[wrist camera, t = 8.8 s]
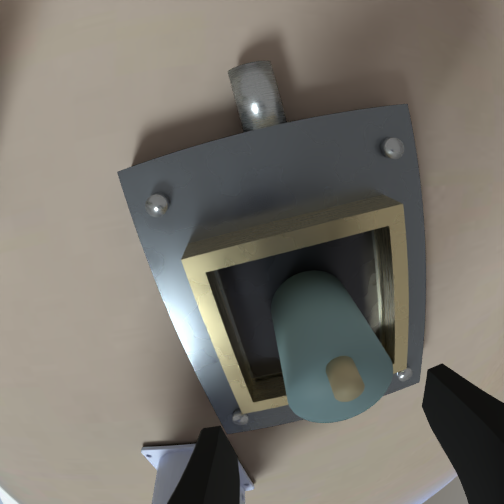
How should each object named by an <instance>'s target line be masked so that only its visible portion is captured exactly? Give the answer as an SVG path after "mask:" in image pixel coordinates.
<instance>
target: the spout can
mask: <svg viewBox="0 0 504 504" xmlns="http://www.w3.org/2000/svg"><path fill="white" fill-rule="evenodd" d="M271 315H272V320H273V325H274V331H275V336H276V341H277V346H278V352H279V357H280V362H281V368H282V373H283V378H284V384H285V389H286V394H287V400H288V404H289V406H290V408H291V409H292V411H293V412H294V413H295V414H296V415H298V416H299V417H301V418H303V419H305V420H308V421H312V422H317V423H331V422H338V421H342V420H346V419H349V418H352V417H354V416H356V415H359V414H360V413H362V412H364V411H366V410H367V409H369V408H370V407H371V406H373V405H374V404H375V403H376V402H377V401H378V400H379V399H380V398H381V397H382V396H383V395H384V394H385V392H386V391H387V389H388V387H389V385H390V383H391V381H392V377H393V365H392V361H391V359H390V357H389V356H388V354H387V353H386V351H385V349H384V348H383V346H382V344H381V343H380V341H379V340H378V338H377V336H376V335H375V333H374V332H373V330H372V329H371V327H370V325H369V324H368V322H367V321H366V319H365V318H364V316H363V314H362V313H361V311H360V310H359V308H358V307H357V305H356V304H355V302H354V301H353V299H352V298H351V296H350V295H349V293H348V292H347V290H346V289H345V287H344V286H343V284H342V283H341V282H340V280H339V279H337V278H336V277H335V276H333V275H332V274H329V273H327V272H324V271H315V270H313V271H305V272H301V273H298V274H296V275H294V276H292V277H290V278H289V279H287V280H286V281H285V282H284V283H283V284H282V285H281V286H280V287H279V288H278V289H277V291H276V292H275V294H274V297H273V299H272V303H271Z"/></svg>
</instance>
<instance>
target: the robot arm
mask: <svg viewBox="0 0 504 504" xmlns="http://www.w3.org/2000/svg"><path fill="white" fill-rule="evenodd" d="M422 408H423V410H424V412H425V415H426V417H427V420H428V422H429V424H430V427H431V429H432V431H433V432H434V434H435V436H436V437H437V439H438V441H439V443H440V444H441V446H442V448H443V450H444V451H445V453H446V455H447V456H448V458H449V460H450V462H451V463H452V465H453V467H454V469H455V470H456V472H457V475H458V477H459V479H460V481H461V484H462V486H463V489H464V491H465V494H466V497H467V500H468V503H469V504H504V403H503V402H501V401H499V400H498V399H496V398H494V397H492V396H491V395H489V394H488V393H486V392H484V391H483V390H481V389H480V388H478V387H477V386H475V385H473V384H472V383H470V382H469V381H467V380H466V379H465V378H463V377H462V376H460V375H459V374H457V373H456V372H454V371H453V370H451V369H450V368H448V367H447V366H445V365H444V364H440V365H437V366H435V367H433V368H430V369H428V371H427V378H426V385H425V391H424V397H423V403H422ZM141 453H142V454H143V455H144V456H145V457H146V458H147V460H148V461H149V462H150V463H151V464H152V465H153V466H154V467H155V468H156V469H157V475H156V481H155V487H154V493H153V499H152V504H245V491H248V490H253V489H254V485H253V483H252V481H251V480H250V478H249V477H248V475H247V473H246V472H245V470H244V468H243V467H242V465H241V464H240V462H239V460H238V457H237V455H236V453H235V451H234V450H233V448H232V446H231V444H230V442H229V441H228V439H227V437H226V435H225V433H224V432H223V430H222V428H221V426H217V427H209V428H203V429H202V430H201V432H200V435H199V438H198V440H197V443H195V444H185V445H172V446H154V447H142V449H141Z"/></svg>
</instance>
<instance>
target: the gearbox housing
mask: <svg viewBox="0 0 504 504" xmlns="http://www.w3.org/2000/svg"><path fill="white" fill-rule="evenodd" d="M228 75H229V79H230V83H231V86H232V90H233V94H234V97H235V101H236V105H237V108H238V112H239V116H240V120H241V123H242V127H243V131H244V133H241V134H237V135H233V136H229V137H225V138H222V139H218V140H214V141H211V142H207V143H204V144H200V145H197V146H193V147H190V148H187V149H183V150H180V151H177V152H174V153H171V154H168V155H165V156H161V157H158V158H155V159H152V160H149V161H147V162H144V163H141V164H138V165H135V166H132V167H129V168H127V169H124V170H121V171H119V172H117V173H118V176H119V179H120V183H121V186H122V189H123V192H124V195H125V198H126V201H127V204H128V207H129V210H130V213H131V216H132V219H133V222H134V225H135V228H136V231H137V233H138V236H139V239H140V242H141V245H142V247H143V250H144V253H145V255H146V258H147V261H148V263H149V266H150V268H151V271H152V274H153V276H154V279H155V281H156V284H157V286H158V289H159V291H160V294H161V296H162V299H163V301H164V303H165V306H166V308H167V310H168V313H169V315H170V318H171V320H172V322H173V324H174V327H175V329H176V331H177V334H178V336H179V338H180V340H181V342H182V345H183V347H184V349H185V351H186V353H187V356H188V358H189V360H190V362H191V364H192V366H193V368H194V370H195V372H196V374H197V377H198V379H199V381H200V383H201V385H202V387H203V389H204V391H205V393H206V395H207V397H208V399H209V401H210V403H211V404H212V406H213V408H214V410H215V412H216V414H217V416H218V418H219V420H220V422H221V423H222V425H223V427H224V429H225V431H226V433H227V434H231V433H238V432H244V431H250V430H255V429H261V428H266V427H271V426H276V425H281V424H286V423H290V422H294V421H299V420H303V418H301V417H299V416H298V415H296V414H295V413H294V412H293V411H292V409H291V408H290V406H289V404H288V400H287V394H286V389H285V384H284V378H283V373H282V368H281V362H280V357H279V352H278V346H277V341H276V336H275V331H274V325H273V320H272V315H271V303H272V299H273V297H274V294H275V292H276V291H277V289H278V288H279V287H280V286H281V285H282V284H283V283H284V282H285V281H286V280H287V279H289V278H290V277H292V276H294V275H296V274H298V273H301V272H305V271H313V270H315V271H324V272H327V273H329V274H332V275H333V276H335V277H336V278H337V279H339V280H340V282H341V283H342V284H343V286H344V287H345V289H346V290H347V292H348V293H349V295H350V296H351V298H352V299H353V301H354V302H355V304H356V305H357V307H358V308H359V310H360V311H361V313H362V314H363V316H364V318H365V319H366V321H367V322H368V324H369V325H370V327H371V329H372V330H373V332H374V333H375V335H376V336H377V338H378V340H379V341H380V343H381V344H382V346H383V348H384V349H385V351H386V353H387V354H388V356H389V357H390V359H391V361H392V365H393V377H392V381H391V383H390V385H389V387H388V389H387V391H386V392H385V394H384V395H387V394H390V393H393V392H395V391H398V390H401V389H403V388H406V387H408V386H411V385H414V384H416V383H419V381H420V373H421V364H422V354H423V342H424V327H425V304H426V254H425V231H424V216H423V203H422V193H421V184H420V175H419V168H418V160H417V153H416V147H415V141H414V135H413V129H412V124H411V119H410V114H409V109H408V104H400V105H391V106H383V107H375V108H368V109H360V110H354V111H347V112H341V113H335V114H329V115H324V116H318V117H313V118H307V119H302V120H297V121H293V122H288V123H287V122H286V118H285V114H284V110H283V106H282V102H281V99H280V95H279V91H278V87H277V84H276V80H275V76H274V73H273V69H272V66H271V62H270V61H256V62H251V63H246V64H243V65H240V66H237V67H235V68H232V69H231V70H229V71H228ZM384 395H383V396H384Z"/></svg>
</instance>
